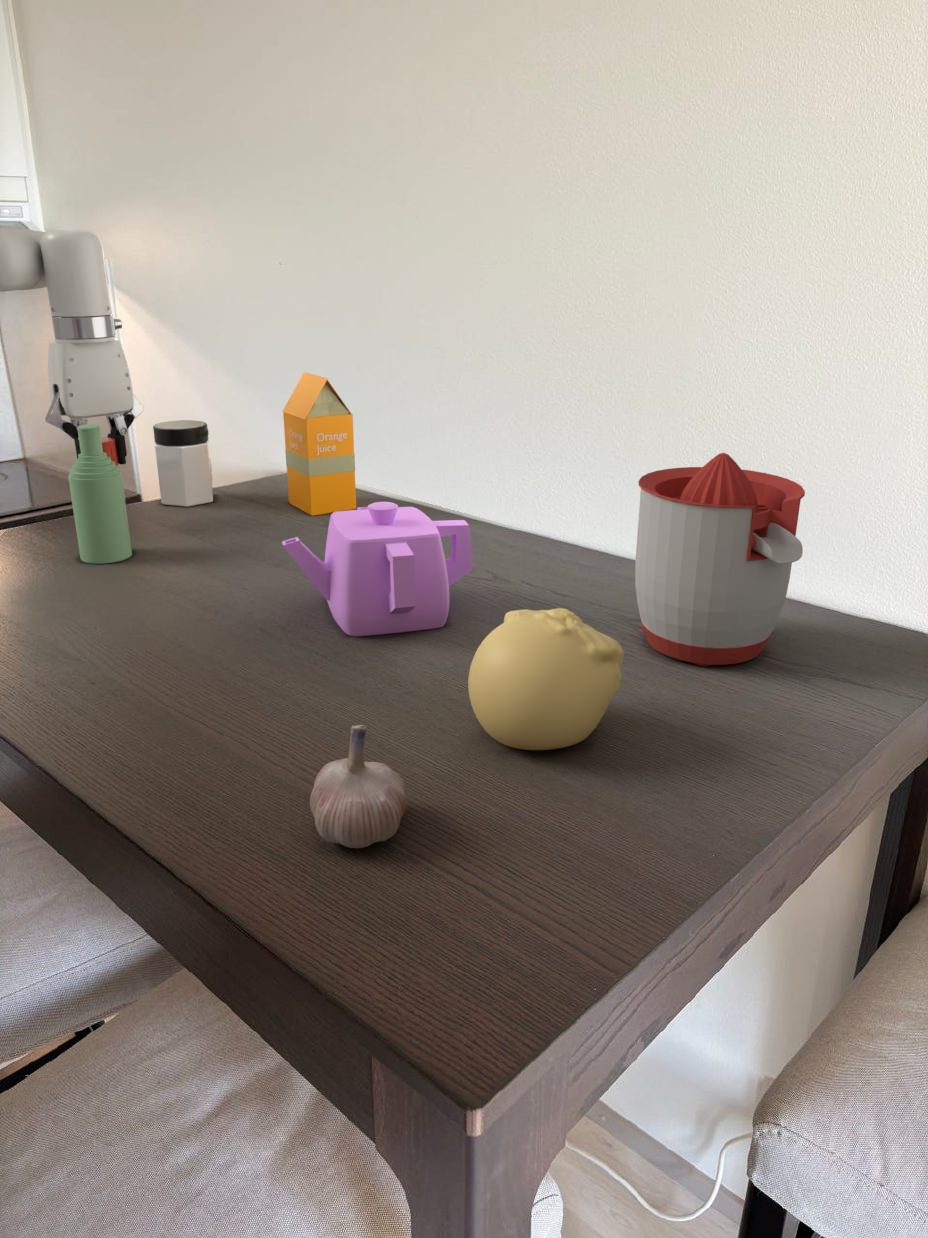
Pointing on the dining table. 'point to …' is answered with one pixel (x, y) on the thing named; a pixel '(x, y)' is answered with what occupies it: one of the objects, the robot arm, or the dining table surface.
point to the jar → (183, 462)
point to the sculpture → (543, 679)
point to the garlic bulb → (357, 798)
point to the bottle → (98, 502)
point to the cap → (110, 448)
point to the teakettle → (386, 568)
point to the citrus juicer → (714, 559)
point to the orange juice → (319, 448)
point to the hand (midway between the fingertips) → (103, 464)
